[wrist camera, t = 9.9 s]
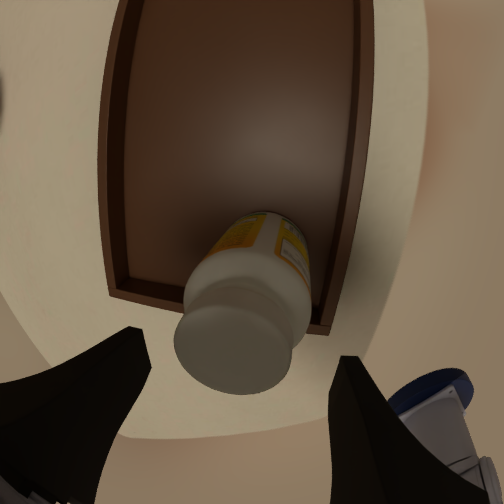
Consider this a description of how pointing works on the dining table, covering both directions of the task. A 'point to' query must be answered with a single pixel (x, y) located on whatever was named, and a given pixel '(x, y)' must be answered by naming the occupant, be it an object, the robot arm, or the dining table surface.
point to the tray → (231, 136)
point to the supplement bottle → (246, 306)
